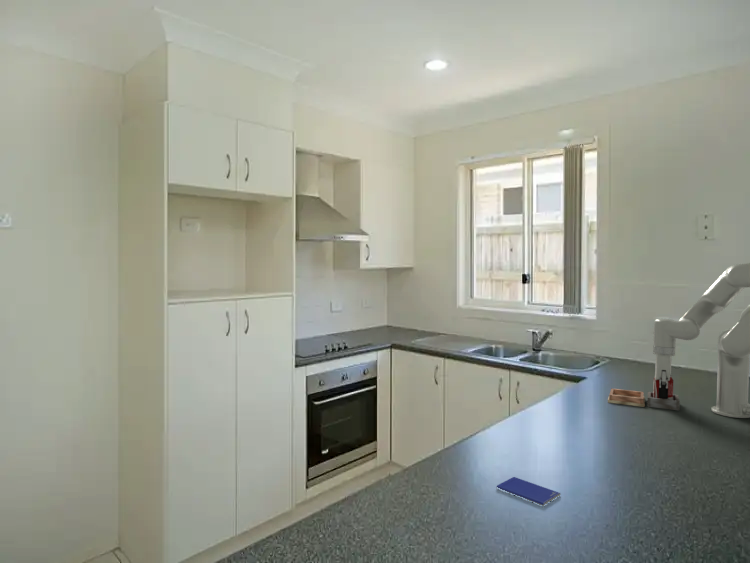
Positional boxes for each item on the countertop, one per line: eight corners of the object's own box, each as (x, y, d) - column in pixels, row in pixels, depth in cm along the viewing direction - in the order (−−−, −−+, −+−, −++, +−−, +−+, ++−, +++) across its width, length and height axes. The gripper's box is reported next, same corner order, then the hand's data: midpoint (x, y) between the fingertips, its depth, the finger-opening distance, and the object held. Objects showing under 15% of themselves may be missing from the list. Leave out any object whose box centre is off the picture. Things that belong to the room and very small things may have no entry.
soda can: (676, 407, 196) (677, 376, 195) (658, 407, 196) (659, 376, 196) (666, 402, 203) (667, 373, 202) (649, 402, 203) (650, 372, 202)
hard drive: (560, 492, 121) (514, 476, 130) (543, 503, 115) (496, 485, 124) (560, 498, 121) (514, 482, 130) (543, 509, 115) (496, 491, 124)
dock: (677, 402, 202) (678, 394, 202) (679, 411, 191) (679, 402, 191) (609, 395, 214) (610, 386, 214) (607, 402, 203) (607, 393, 203)
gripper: (653, 346, 208) (651, 390, 209) (653, 353, 193) (652, 400, 193) (674, 348, 204) (673, 392, 205) (676, 355, 189) (675, 402, 190)
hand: (662, 395), depth 199 cm, fingers closed on soda can, 6 cm apart
